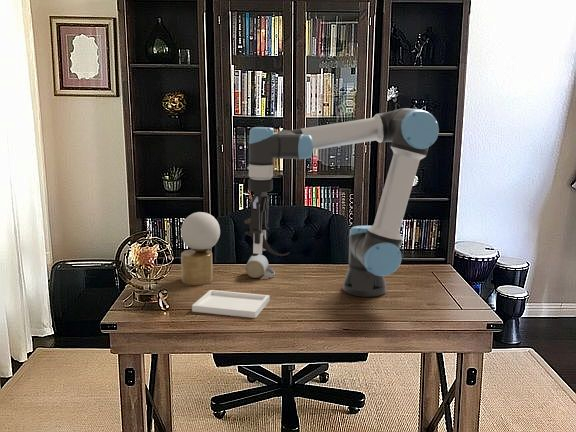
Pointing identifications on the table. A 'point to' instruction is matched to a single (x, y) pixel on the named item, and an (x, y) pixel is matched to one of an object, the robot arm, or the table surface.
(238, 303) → the tray
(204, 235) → the lamp
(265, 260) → the ceramic mug
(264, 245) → the dinosaur model
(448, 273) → the table surface
